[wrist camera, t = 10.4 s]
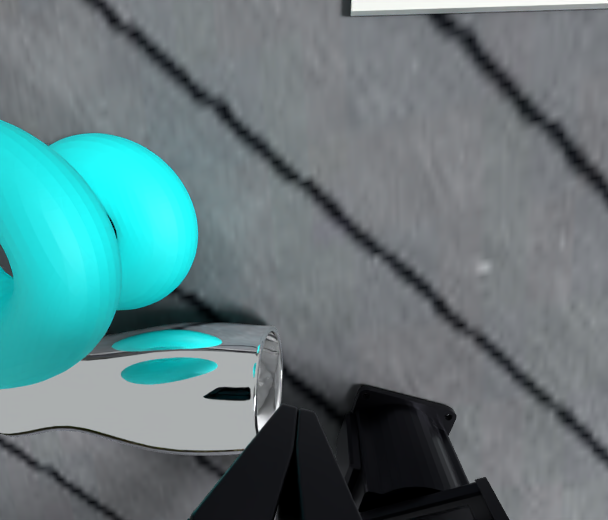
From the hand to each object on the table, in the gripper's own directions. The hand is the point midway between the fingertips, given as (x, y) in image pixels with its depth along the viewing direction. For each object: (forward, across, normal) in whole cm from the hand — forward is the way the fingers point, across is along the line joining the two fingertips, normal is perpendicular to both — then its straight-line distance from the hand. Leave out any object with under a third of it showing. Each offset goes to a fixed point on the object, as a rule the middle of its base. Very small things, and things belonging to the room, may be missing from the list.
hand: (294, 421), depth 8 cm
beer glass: (+9, +15, +10) cm, 21 cm away
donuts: (+12, +12, 0) cm, 17 cm away
